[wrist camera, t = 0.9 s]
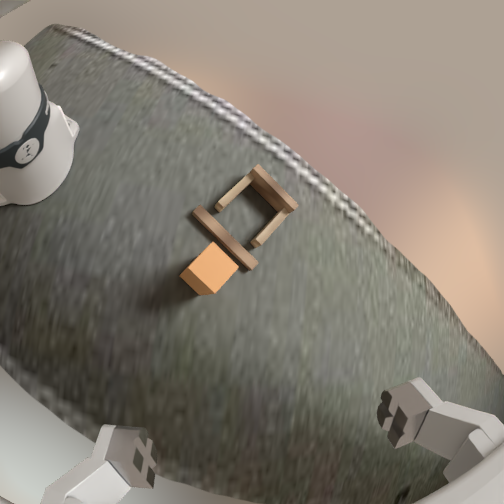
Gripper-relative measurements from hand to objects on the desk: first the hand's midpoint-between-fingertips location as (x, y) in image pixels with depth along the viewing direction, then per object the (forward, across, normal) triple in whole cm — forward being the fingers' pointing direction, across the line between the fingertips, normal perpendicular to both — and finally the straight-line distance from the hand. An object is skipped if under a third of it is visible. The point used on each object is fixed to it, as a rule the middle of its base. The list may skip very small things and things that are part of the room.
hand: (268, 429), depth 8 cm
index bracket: (+38, -4, -2) cm, 38 cm away
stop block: (+32, +5, +6) cm, 33 cm away
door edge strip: (+35, +1, +1) cm, 35 cm away
